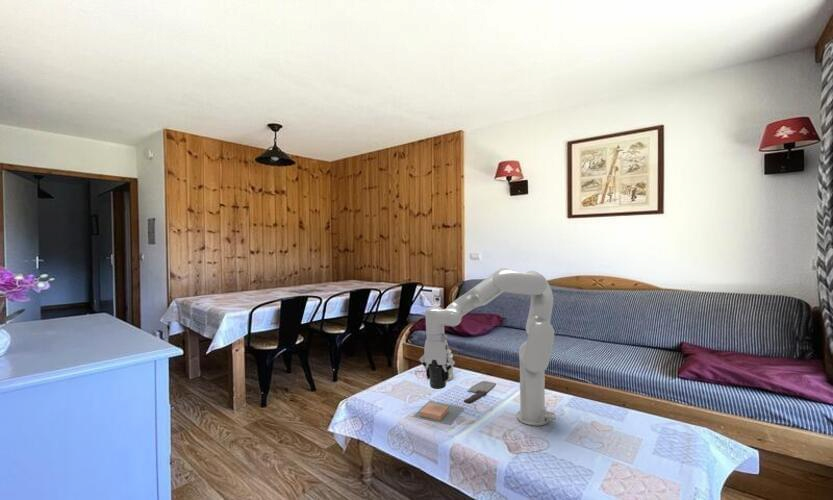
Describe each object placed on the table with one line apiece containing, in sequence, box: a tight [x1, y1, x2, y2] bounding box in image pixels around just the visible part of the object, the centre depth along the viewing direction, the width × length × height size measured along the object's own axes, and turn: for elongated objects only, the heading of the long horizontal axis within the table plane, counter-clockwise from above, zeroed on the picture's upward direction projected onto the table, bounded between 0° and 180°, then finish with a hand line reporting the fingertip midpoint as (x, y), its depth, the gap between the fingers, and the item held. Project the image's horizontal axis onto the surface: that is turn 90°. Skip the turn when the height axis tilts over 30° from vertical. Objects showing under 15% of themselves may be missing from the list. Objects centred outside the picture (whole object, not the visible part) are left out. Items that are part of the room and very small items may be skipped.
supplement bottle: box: [429, 360, 447, 390], centre depth 159 cm, size 7×7×12 cm
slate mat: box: [412, 400, 466, 426], centre depth 160 cm, size 17×17×1 cm
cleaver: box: [463, 380, 497, 405], centre depth 181 cm, size 29×10×2 cm, turn 148°
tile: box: [420, 403, 449, 421], centre depth 158 cm, size 9×2×9 cm
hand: (437, 378), depth 159 cm, fingers closed on supplement bottle, 6 cm apart
